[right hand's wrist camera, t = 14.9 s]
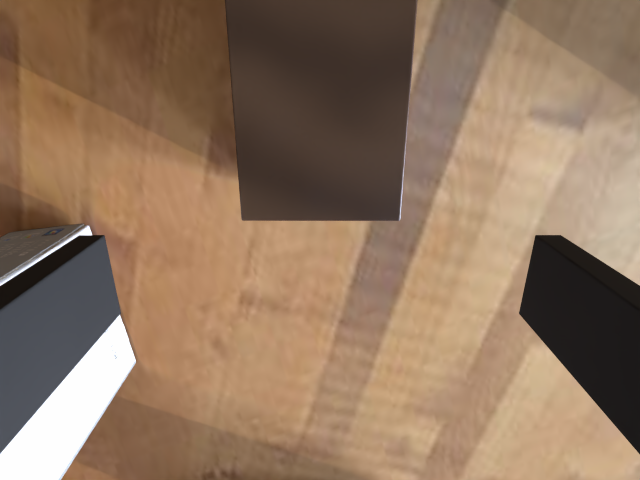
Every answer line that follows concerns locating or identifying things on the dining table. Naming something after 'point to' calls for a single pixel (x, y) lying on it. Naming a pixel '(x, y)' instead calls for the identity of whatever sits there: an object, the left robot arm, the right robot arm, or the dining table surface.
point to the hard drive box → (76, 389)
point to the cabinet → (321, 106)
